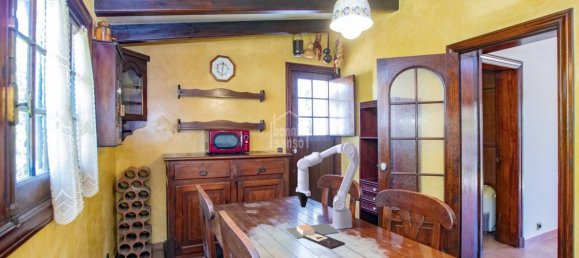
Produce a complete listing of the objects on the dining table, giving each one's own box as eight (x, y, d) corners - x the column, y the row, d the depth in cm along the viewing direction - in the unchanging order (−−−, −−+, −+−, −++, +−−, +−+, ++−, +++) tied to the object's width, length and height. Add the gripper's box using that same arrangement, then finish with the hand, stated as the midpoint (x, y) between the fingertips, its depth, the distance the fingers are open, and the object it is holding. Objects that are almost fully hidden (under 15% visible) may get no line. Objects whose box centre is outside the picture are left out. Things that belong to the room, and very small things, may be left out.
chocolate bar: (330, 248, 127) (302, 236, 141) (330, 250, 127) (302, 238, 141) (344, 242, 132) (316, 232, 147) (344, 244, 132) (316, 234, 147)
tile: (307, 224, 152) (314, 229, 144) (307, 228, 152) (314, 233, 144) (296, 225, 150) (302, 230, 142) (296, 230, 150) (303, 235, 142)
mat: (325, 224, 160) (325, 223, 160) (338, 232, 147) (338, 231, 147) (286, 229, 152) (286, 228, 152) (296, 238, 139) (296, 237, 139)
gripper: (291, 179, 164) (291, 204, 164) (301, 184, 151) (301, 211, 151) (303, 178, 167) (303, 203, 167) (314, 183, 153) (314, 209, 153)
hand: (303, 207), depth 159 cm, fingers closed
